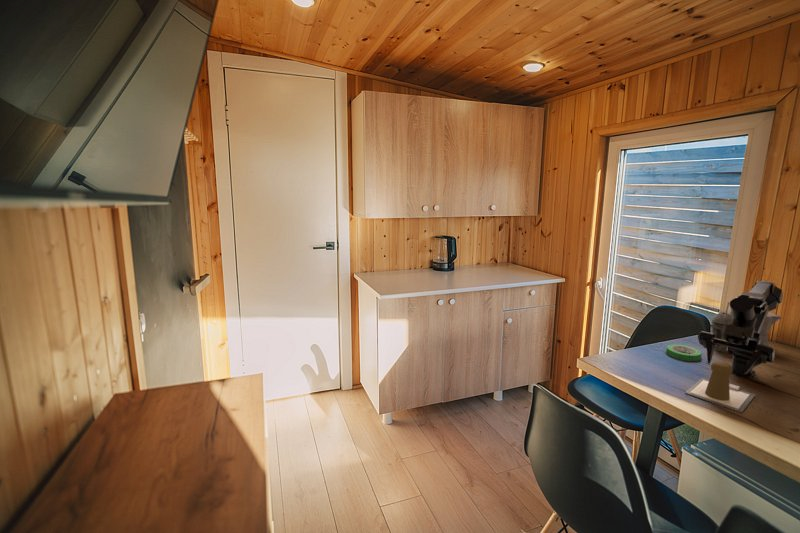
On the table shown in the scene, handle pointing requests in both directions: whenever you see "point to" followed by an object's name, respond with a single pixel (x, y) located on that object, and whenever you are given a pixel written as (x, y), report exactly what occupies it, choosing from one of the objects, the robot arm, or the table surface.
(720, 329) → the beverage cup
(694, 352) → the tape roll
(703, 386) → the clipboard
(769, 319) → the coffeepot
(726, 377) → the cork
